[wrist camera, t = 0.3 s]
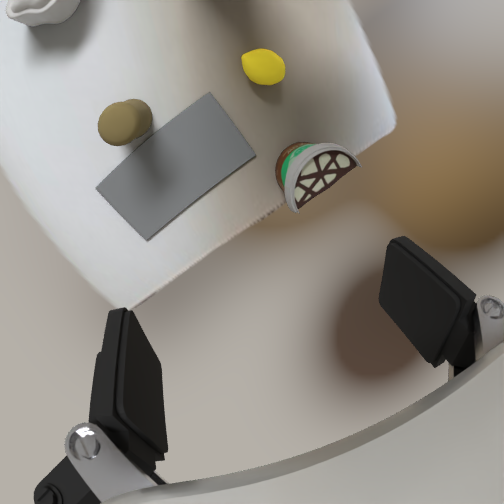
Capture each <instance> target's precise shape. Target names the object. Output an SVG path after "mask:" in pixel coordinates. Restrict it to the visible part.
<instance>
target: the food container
mask: <svg viewBox="0 0 504 504" xmlns="http://www.w3.org/2000/svg"><path fill="white" fill-rule="evenodd" d="M356 166H359V167H362V166H361V164H360V162H359V161H358V159H357V158H356V157H355V156H354V155H353V154H352V153H351V152H350V151H348V150H347V149H346V148H344V147H342V146H341V145H338V144H334V143H320V144H313V143H307V142H298V143H295V144H292V145H290V146H289V147H287V148H286V149H285V150H284V151H283V152H282V153H281V155H280V156H279V158H278V160H277V163H276V170H275V171H276V179H277V182H278V184H279V186H280V187H281V189H282V190H283V192H284V193H285V198H286V202H287V204H288V206H289V208H290V210H291V211H293V212H295V213H296V212H298V213H299V211H298V209H299V208H301V207H302V206H303V205H304V204H305V203H307V202H308V201H310V200H311V199H312V198H314V197H315V196H317V195H318V194H320V193H322V192H323V191H325V190H326V189H328V188H330V186H332V185H333V184H334V183H335V182H337V180H339V179H340V178H341V177H342V176H344V175H345V174H346V173H347V172H349V171H350V170H352V169H353V168H355V167H356Z"/></svg>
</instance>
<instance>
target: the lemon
mask: <svg viewBox="0 0 504 504" xmlns="http://www.w3.org/2000/svg"><path fill="white" fill-rule="evenodd" d="M241 59H242V65H243V70H244V72H245V73H246V75H247V76H248V77H249V79H250V80H251V81H253V82H255V83H257V84H262V85H273V84H276V83H278V82H280V81H281V80H282V79H283V78H284V75H285V64H284V62H283V60H282V58H280V57H279V56H278V55H277V54H275V53H274V52H273V51H270V50H267V49H255V50H252V51H250V52H247V53H245V54H243V55H242V56H241Z"/></svg>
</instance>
